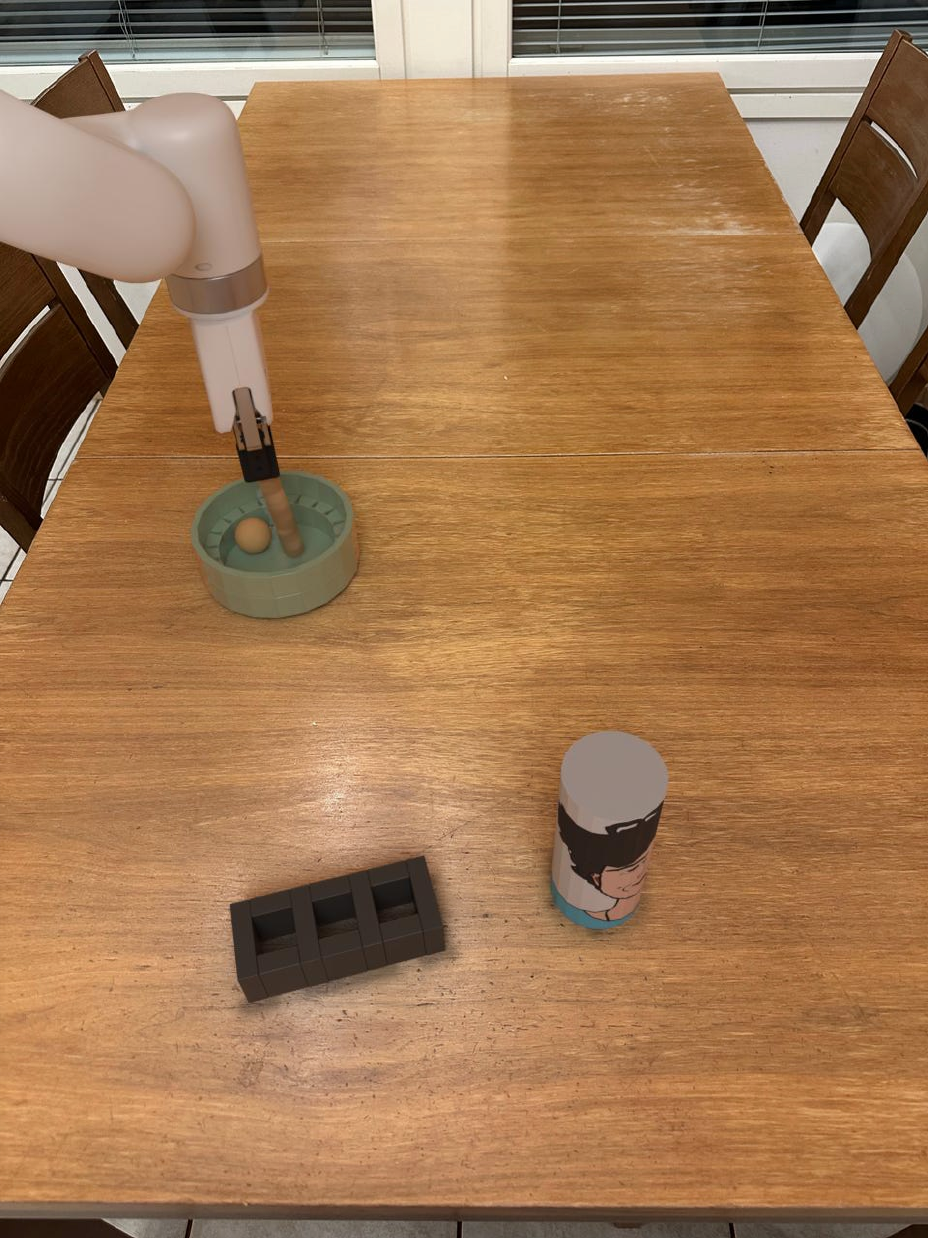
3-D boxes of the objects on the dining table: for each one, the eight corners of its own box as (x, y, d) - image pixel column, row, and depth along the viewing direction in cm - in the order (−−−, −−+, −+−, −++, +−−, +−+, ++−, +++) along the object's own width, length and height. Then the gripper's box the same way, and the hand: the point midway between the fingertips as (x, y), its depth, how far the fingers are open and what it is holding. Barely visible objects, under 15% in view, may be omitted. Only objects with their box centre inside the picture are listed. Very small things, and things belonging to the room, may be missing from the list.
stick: (283, 557, 93) (233, 426, 81) (285, 543, 94) (236, 412, 82) (303, 555, 93) (255, 424, 81) (305, 541, 94) (258, 410, 82)
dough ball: (229, 554, 95) (224, 519, 93) (257, 545, 97) (253, 511, 96) (252, 560, 92) (248, 525, 91) (280, 551, 95) (277, 516, 94)
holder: (248, 1003, 65) (237, 980, 62) (240, 929, 69) (229, 903, 66) (445, 951, 67) (443, 926, 64) (427, 881, 71) (424, 854, 68)
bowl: (211, 636, 88) (196, 591, 84) (199, 530, 98) (185, 485, 94) (373, 603, 91) (366, 558, 86) (345, 503, 101) (338, 458, 96)
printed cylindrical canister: (600, 948, 67) (621, 841, 56) (531, 886, 71) (538, 774, 60) (659, 886, 70) (690, 774, 59) (590, 829, 74) (607, 713, 63)
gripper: (161, 238, 77) (211, 426, 90) (172, 339, 66) (227, 533, 80) (254, 225, 78) (290, 412, 92) (279, 322, 68) (315, 517, 81)
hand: (260, 467), depth 86 cm, fingers closed on stick, 2 cm apart
